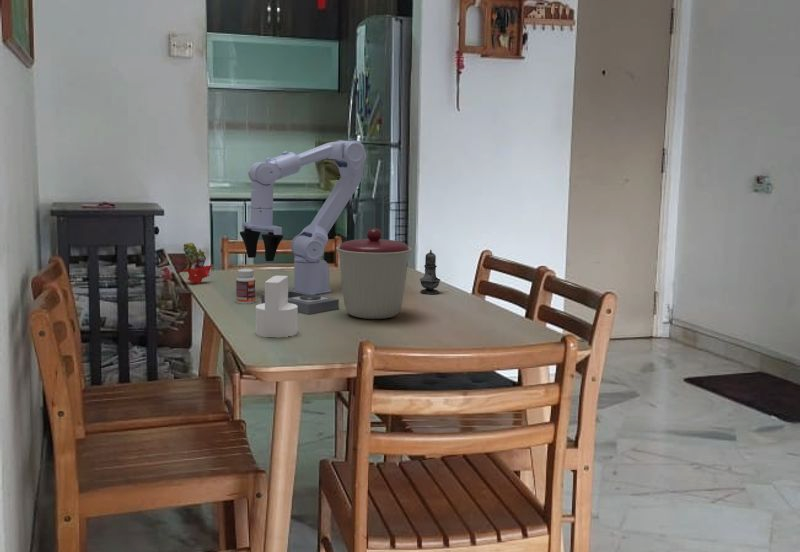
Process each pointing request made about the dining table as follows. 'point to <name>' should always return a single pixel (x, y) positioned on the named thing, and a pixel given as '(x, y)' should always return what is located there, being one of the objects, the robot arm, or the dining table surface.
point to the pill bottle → (245, 286)
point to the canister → (373, 275)
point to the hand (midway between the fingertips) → (260, 259)
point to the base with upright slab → (276, 310)
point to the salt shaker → (430, 275)
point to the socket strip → (310, 302)
